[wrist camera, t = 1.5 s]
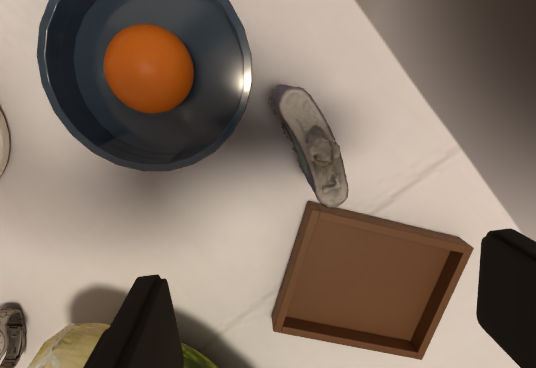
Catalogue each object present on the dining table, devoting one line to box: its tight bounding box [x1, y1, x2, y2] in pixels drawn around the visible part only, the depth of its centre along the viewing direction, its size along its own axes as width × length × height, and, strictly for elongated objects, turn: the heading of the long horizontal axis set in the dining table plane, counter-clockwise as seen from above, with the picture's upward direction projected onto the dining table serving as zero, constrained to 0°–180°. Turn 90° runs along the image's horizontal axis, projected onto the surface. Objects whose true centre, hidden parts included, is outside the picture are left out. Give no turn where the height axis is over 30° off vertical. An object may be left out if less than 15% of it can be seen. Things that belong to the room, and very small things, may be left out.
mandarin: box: [104, 24, 194, 114], centre depth 26 cm, size 6×6×6 cm
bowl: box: [37, 0, 252, 171], centre depth 28 cm, size 15×15×5 cm
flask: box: [270, 85, 348, 209], centre depth 27 cm, size 9×3×11 cm, turn 25°
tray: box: [272, 201, 474, 360], centre depth 36 cm, size 17×14×2 cm
